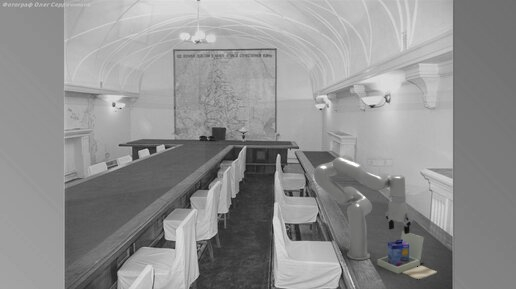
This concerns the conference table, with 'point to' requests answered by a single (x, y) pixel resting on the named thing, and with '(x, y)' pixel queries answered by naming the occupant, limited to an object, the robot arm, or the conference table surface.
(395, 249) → the ink cartridge box
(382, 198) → the conference table surface
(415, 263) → the case
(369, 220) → the conference table surface
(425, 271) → the board
